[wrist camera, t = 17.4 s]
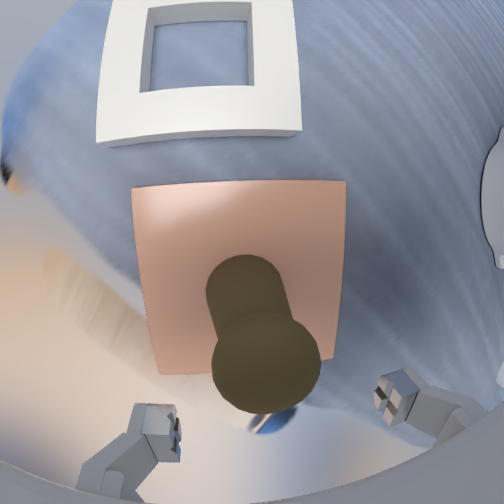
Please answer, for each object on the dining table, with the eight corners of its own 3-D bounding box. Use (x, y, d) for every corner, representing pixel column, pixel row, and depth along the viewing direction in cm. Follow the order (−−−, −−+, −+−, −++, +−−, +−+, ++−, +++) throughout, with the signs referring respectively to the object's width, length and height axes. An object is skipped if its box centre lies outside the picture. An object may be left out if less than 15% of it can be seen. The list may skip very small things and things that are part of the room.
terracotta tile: (342, 180, 21) (346, 181, 20) (330, 355, 25) (332, 358, 24) (133, 188, 19) (131, 188, 18) (160, 370, 23) (159, 374, 22)
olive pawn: (208, 250, 20) (204, 325, 10) (289, 257, 21) (355, 329, 11) (203, 324, 22) (200, 430, 11) (276, 328, 23) (320, 426, 12)
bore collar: (281, -1, 16) (289, -19, 13) (289, 136, 20) (302, 130, 17) (124, 7, 15) (115, -10, 12) (111, 147, 18) (96, 142, 15)
